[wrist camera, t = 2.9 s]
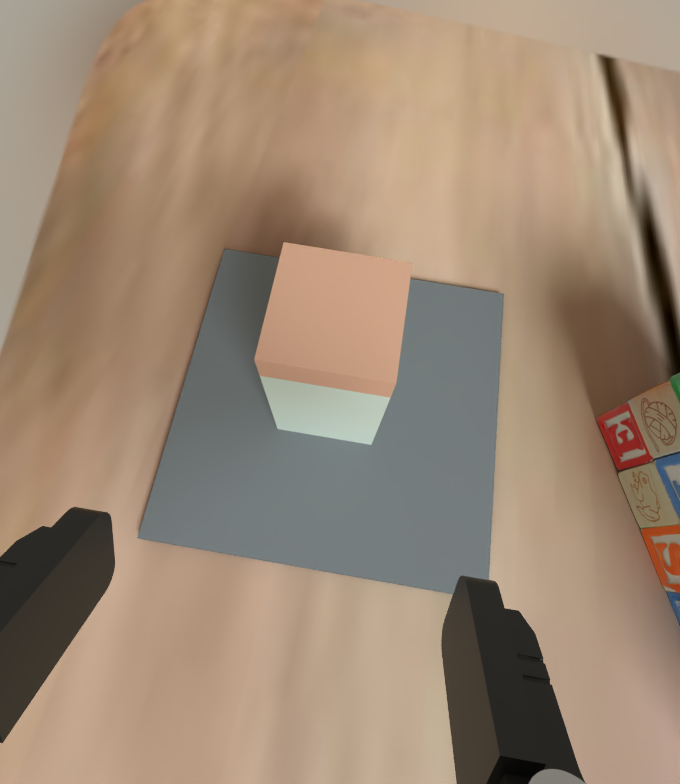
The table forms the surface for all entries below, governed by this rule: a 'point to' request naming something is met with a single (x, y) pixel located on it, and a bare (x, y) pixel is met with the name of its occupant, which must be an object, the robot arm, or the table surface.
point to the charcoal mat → (338, 447)
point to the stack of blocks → (651, 473)
